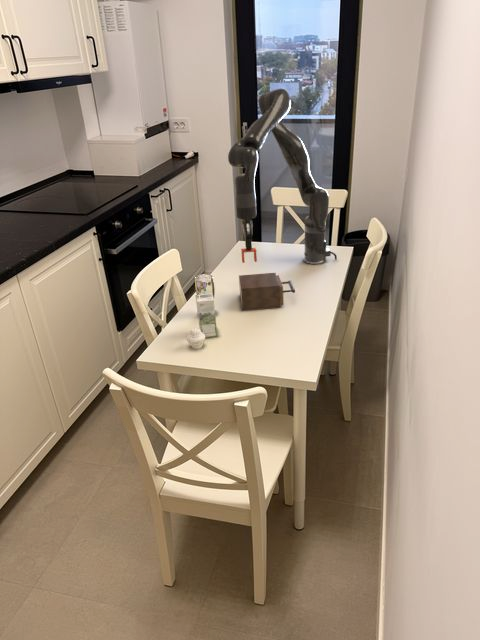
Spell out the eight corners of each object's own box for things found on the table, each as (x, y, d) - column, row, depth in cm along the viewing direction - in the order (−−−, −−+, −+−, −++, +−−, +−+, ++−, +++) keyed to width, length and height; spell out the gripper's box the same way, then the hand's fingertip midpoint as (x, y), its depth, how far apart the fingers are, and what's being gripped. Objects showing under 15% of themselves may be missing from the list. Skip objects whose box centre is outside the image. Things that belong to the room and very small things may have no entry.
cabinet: (276, 293, 201) (275, 272, 197) (280, 307, 191) (279, 285, 186) (240, 296, 200) (238, 275, 196) (242, 310, 190) (241, 288, 185)
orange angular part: (256, 259, 197) (255, 238, 193) (256, 261, 194) (255, 241, 190) (242, 260, 197) (240, 239, 192) (242, 262, 194) (241, 242, 190)
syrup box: (215, 328, 178) (211, 291, 171) (217, 336, 173) (214, 299, 166) (199, 331, 177) (195, 294, 170) (201, 339, 172) (197, 301, 165)
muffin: (190, 341, 171) (188, 323, 168) (207, 342, 171) (205, 324, 167) (186, 351, 166) (183, 332, 162) (204, 351, 165) (202, 333, 162)
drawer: (291, 290, 201) (291, 274, 197) (295, 303, 191) (295, 285, 187) (245, 294, 199) (244, 277, 196) (248, 307, 190) (247, 289, 186)
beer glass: (220, 313, 188) (217, 276, 180) (207, 320, 184) (203, 283, 176) (208, 308, 192) (204, 272, 184) (194, 314, 188) (190, 278, 180)
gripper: (257, 208, 178) (260, 254, 187) (254, 198, 190) (256, 242, 199) (236, 210, 178) (240, 256, 187) (235, 199, 189) (238, 243, 199)
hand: (248, 248), depth 193 cm, fingers closed on orange angular part
